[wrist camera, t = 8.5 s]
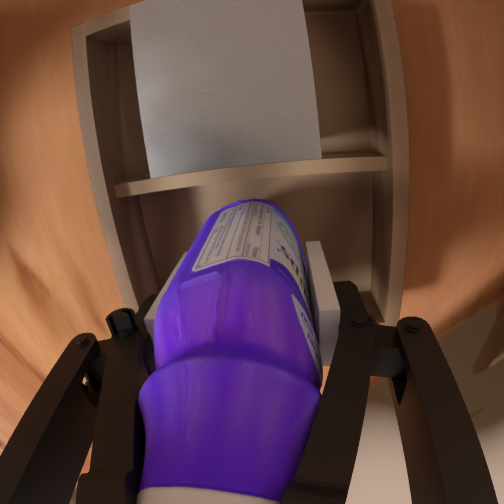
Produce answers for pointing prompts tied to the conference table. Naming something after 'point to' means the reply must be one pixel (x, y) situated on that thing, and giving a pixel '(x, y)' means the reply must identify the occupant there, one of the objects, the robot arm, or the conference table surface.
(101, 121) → the crate
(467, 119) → the conference table surface
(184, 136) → the block
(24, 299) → the conference table surface
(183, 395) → the bottle
